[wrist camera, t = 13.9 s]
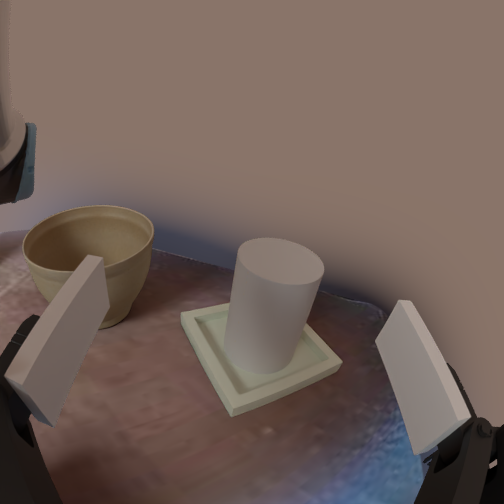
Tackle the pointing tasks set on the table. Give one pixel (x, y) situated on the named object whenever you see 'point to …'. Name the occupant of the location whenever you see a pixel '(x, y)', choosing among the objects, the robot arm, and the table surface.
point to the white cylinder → (270, 303)
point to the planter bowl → (92, 252)
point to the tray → (246, 383)
